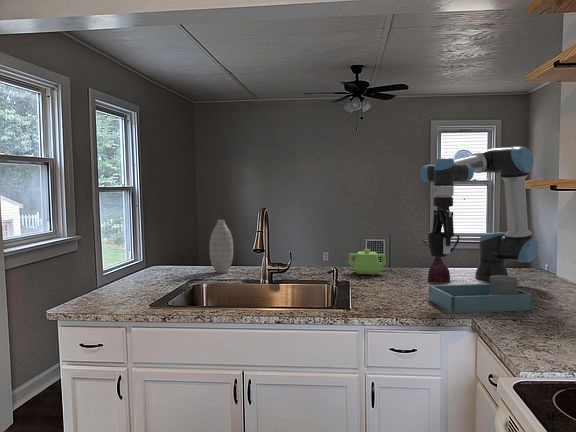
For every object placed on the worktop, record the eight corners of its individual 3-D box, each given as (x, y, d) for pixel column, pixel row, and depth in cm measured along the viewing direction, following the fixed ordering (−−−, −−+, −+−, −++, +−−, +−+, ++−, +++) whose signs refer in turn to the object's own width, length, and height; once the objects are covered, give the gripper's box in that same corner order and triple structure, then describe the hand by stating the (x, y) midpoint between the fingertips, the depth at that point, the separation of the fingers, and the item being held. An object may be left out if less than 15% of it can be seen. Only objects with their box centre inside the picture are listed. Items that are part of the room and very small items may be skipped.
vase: (236, 270, 260) (236, 219, 258) (228, 275, 248) (228, 221, 246) (215, 269, 263) (214, 219, 261) (206, 274, 251) (205, 221, 249)
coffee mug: (520, 306, 179) (521, 280, 179) (493, 306, 181) (494, 280, 180) (509, 298, 193) (509, 273, 192) (483, 297, 194) (484, 273, 193)
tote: (502, 297, 198) (502, 283, 198) (532, 310, 178) (533, 294, 178) (429, 300, 194) (429, 285, 194) (451, 313, 174) (452, 297, 174)
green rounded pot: (348, 269, 264) (348, 246, 263) (384, 270, 261) (385, 246, 260) (347, 275, 246) (347, 250, 245) (387, 276, 243) (387, 251, 242)
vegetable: (442, 290, 226) (442, 261, 221) (423, 283, 234) (423, 256, 229) (454, 281, 232) (454, 253, 227) (435, 276, 240) (435, 248, 235)
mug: (458, 258, 186) (458, 234, 186) (426, 256, 191) (426, 233, 190) (459, 255, 194) (460, 232, 193) (429, 254, 199) (429, 231, 198)
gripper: (424, 195, 202) (423, 249, 203) (445, 197, 181) (444, 256, 182) (441, 195, 202) (440, 248, 204) (464, 197, 182) (462, 256, 183)
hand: (442, 252), depth 193 cm, fingers closed on mug, 8 cm apart
